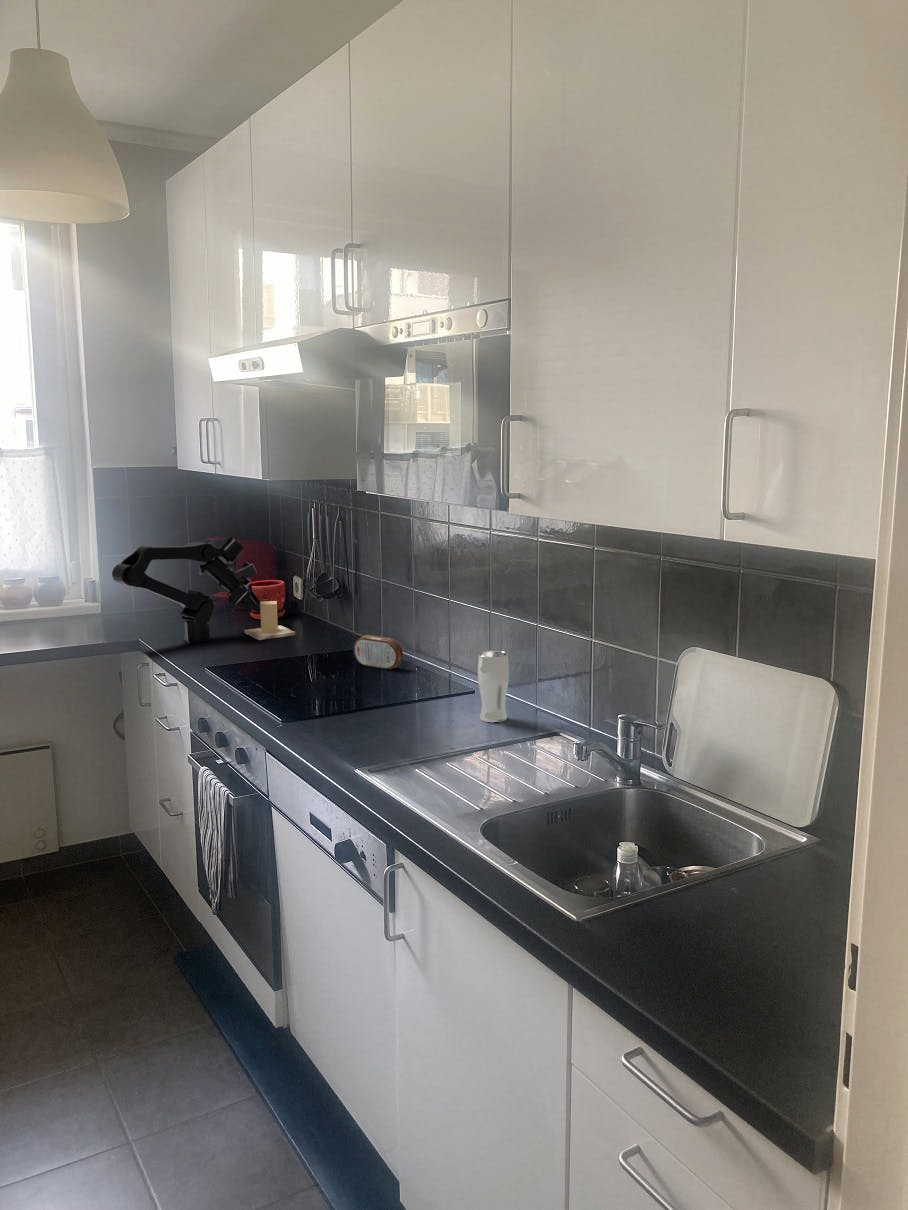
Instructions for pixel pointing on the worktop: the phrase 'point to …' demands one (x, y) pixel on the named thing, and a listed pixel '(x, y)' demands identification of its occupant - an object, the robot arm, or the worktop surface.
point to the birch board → (258, 635)
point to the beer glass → (493, 684)
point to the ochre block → (269, 617)
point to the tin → (378, 652)
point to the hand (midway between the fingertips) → (260, 608)
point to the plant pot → (269, 595)
